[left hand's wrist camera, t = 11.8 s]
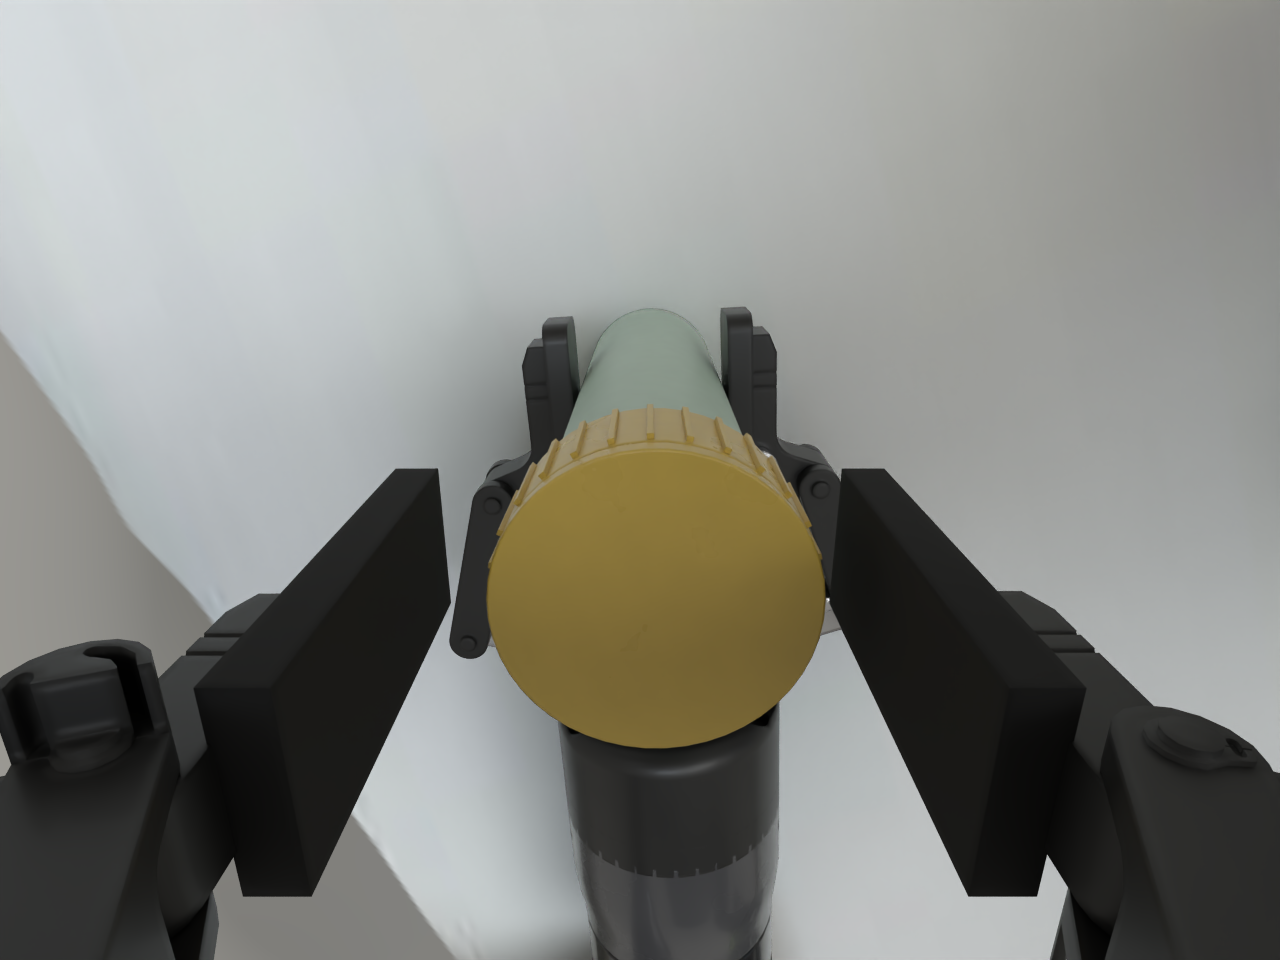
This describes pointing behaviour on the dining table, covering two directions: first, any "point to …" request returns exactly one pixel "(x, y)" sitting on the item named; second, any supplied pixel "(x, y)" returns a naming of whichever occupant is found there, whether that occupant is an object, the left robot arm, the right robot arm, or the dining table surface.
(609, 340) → the green bottle
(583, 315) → the dining table surface
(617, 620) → the lid
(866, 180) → the dining table surface
